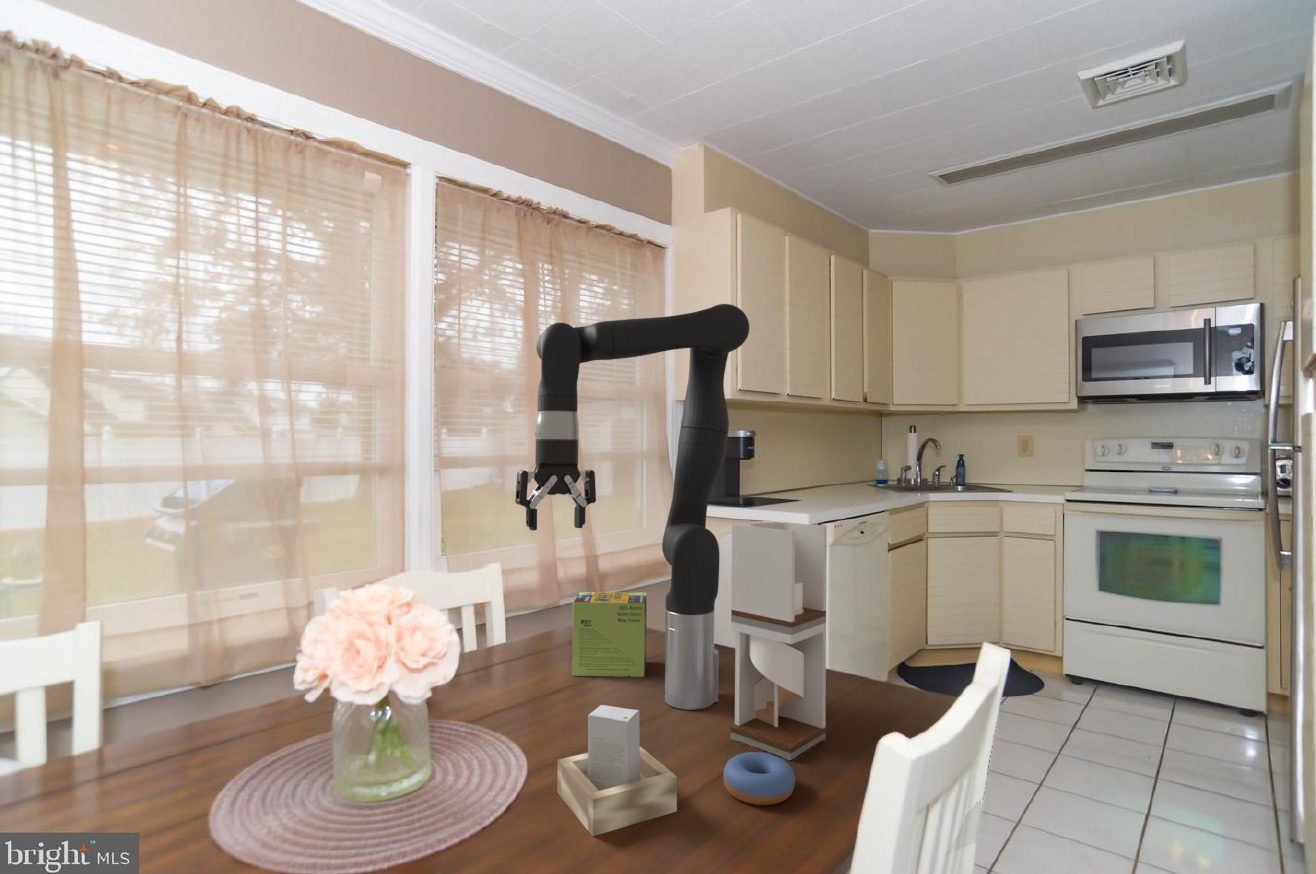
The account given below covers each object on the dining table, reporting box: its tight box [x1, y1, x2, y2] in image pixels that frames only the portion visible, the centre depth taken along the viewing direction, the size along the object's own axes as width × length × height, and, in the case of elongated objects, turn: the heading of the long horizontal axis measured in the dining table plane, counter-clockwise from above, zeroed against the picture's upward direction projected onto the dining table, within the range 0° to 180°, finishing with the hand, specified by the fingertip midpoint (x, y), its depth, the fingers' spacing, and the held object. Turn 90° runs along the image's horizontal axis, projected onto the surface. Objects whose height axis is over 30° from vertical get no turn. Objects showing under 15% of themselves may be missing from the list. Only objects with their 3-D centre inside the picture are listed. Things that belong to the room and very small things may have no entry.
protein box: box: [571, 591, 648, 678], centre depth 146 cm, size 10×15×16 cm
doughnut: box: [722, 751, 796, 806], centre depth 95 cm, size 10×10×5 cm
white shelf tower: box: [730, 520, 827, 761], centre depth 111 cm, size 11×11×35 cm
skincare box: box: [587, 704, 641, 791], centre depth 91 cm, size 6×4×12 cm
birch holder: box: [556, 746, 678, 837], centre depth 91 cm, size 12×12×4 cm
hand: (556, 528), depth 120 cm, fingers open, 8 cm apart
